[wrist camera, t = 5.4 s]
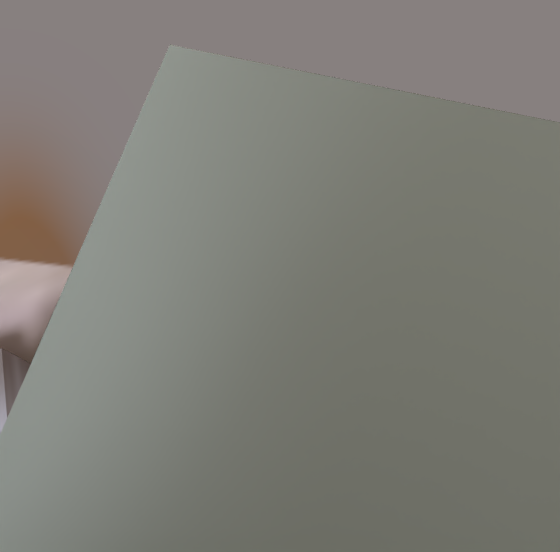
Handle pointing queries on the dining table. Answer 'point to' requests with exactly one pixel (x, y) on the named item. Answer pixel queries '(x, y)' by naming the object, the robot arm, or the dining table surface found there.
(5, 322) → the dining table surface
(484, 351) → the carton
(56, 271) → the dining table surface
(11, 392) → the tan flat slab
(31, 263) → the dining table surface
